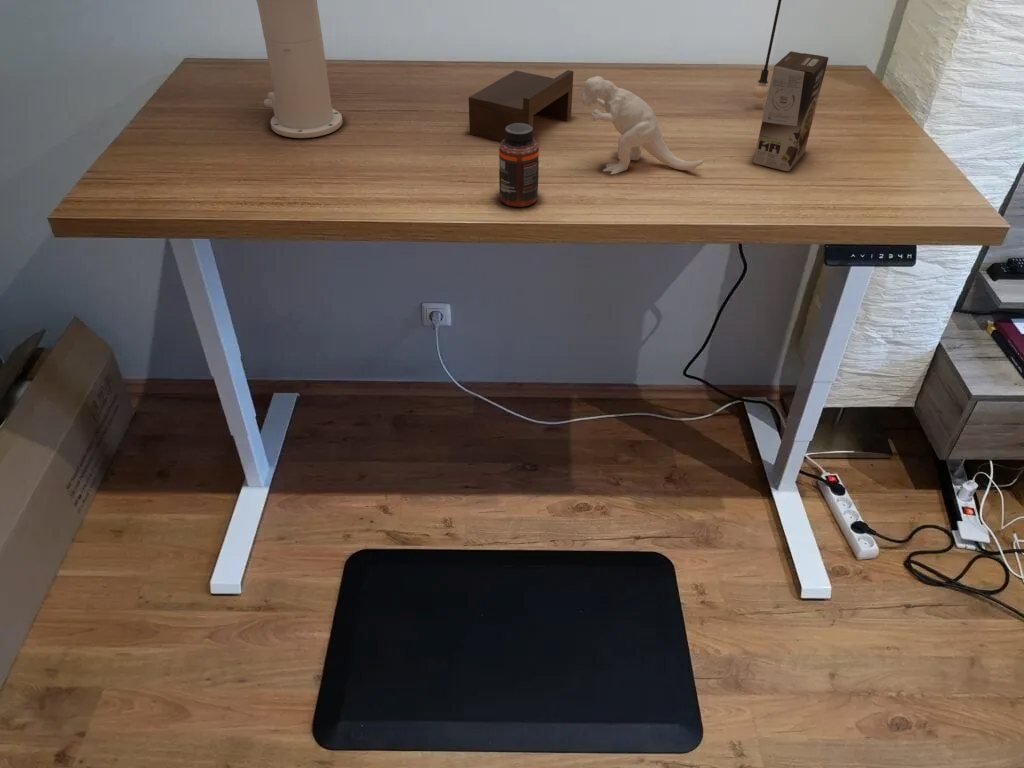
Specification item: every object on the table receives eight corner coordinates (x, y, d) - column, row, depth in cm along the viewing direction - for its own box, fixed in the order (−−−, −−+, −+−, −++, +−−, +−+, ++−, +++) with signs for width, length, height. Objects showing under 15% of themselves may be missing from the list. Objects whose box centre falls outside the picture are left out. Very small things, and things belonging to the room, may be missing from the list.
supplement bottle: (544, 195, 124) (546, 124, 117) (528, 211, 120) (530, 139, 113) (509, 187, 126) (509, 117, 119) (492, 203, 122) (492, 131, 115)
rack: (469, 134, 142) (468, 85, 137) (515, 105, 153) (515, 59, 147) (528, 148, 138) (529, 99, 132) (571, 118, 148) (573, 70, 143)
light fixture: (732, 107, 153) (759, -38, 137) (755, 99, 156) (784, -43, 140) (759, 118, 149) (790, -30, 133) (782, 110, 152) (815, -35, 136)
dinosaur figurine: (575, 172, 131) (581, 80, 121) (583, 148, 138) (589, 60, 129) (700, 184, 128) (716, 91, 118) (701, 159, 135) (716, 69, 126)
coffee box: (789, 172, 131) (814, 72, 121) (751, 163, 134) (772, 64, 124) (805, 153, 137) (830, 56, 127) (769, 144, 140) (790, 48, 130)
